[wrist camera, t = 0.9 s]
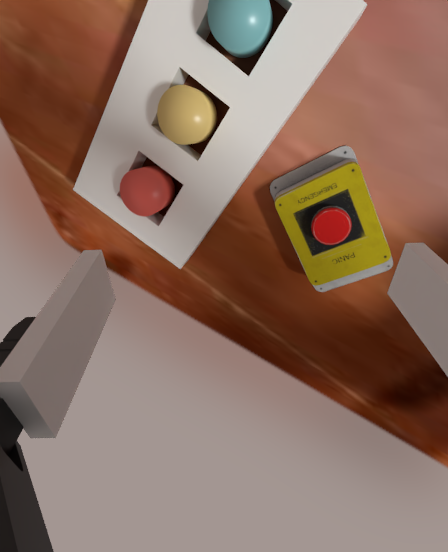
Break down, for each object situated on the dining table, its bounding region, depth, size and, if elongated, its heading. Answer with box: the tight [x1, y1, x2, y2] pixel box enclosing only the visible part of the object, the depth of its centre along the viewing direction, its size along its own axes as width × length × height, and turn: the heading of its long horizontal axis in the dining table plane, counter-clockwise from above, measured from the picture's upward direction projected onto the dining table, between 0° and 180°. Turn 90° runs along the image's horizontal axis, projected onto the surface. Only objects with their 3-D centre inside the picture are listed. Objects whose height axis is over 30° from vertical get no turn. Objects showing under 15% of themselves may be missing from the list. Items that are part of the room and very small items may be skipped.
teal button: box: [207, 0, 273, 58], centre depth 26 cm, size 5×5×4 cm
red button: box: [120, 166, 175, 216], centre depth 35 cm, size 5×5×4 cm
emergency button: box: [270, 146, 393, 292], centre depth 33 cm, size 9×4×15 cm
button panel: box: [73, 0, 367, 269], centre depth 32 cm, size 16×30×3 cm, turn 145°
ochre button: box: [157, 85, 217, 145], centre depth 30 cm, size 5×5×4 cm
